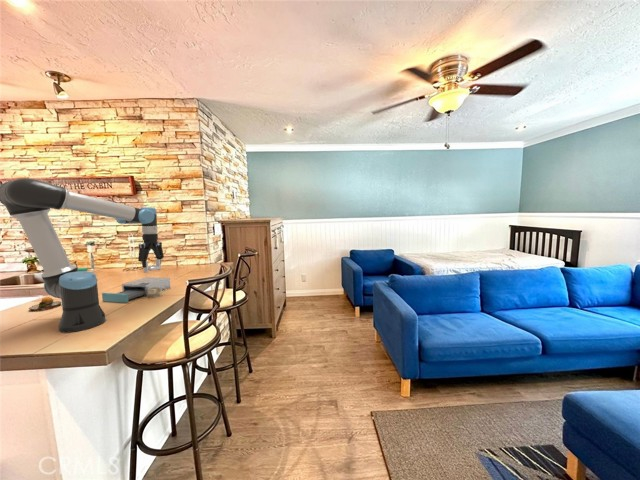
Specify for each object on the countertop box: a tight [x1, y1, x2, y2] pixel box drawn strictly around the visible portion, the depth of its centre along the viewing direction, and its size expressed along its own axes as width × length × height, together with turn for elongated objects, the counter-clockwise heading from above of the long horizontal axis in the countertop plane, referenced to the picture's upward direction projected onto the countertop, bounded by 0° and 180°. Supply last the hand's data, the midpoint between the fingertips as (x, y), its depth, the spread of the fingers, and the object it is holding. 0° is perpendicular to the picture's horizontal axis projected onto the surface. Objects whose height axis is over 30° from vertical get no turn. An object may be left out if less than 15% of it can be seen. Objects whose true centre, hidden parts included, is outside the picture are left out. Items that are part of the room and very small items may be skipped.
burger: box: [28, 294, 62, 313], centre depth 133 cm, size 12×12×8 cm
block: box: [147, 287, 163, 299], centre depth 149 cm, size 5×5×5 cm
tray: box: [101, 289, 145, 304], centre depth 147 cm, size 17×17×5 cm
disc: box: [148, 264, 160, 271], centre depth 147 cm, size 8×8×2 cm
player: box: [121, 276, 171, 297], centre depth 160 cm, size 18×18×7 cm
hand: (152, 271), depth 148 cm, fingers closed on disc, 8 cm apart
